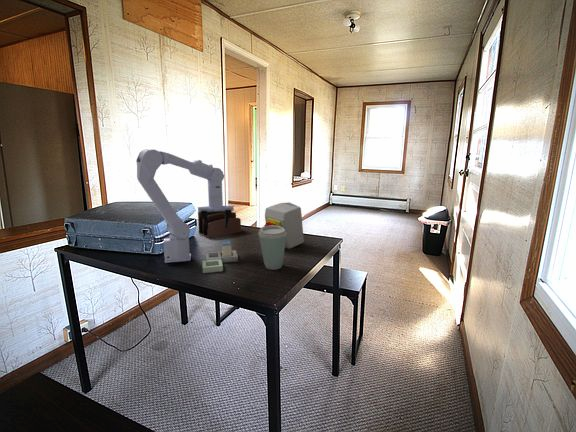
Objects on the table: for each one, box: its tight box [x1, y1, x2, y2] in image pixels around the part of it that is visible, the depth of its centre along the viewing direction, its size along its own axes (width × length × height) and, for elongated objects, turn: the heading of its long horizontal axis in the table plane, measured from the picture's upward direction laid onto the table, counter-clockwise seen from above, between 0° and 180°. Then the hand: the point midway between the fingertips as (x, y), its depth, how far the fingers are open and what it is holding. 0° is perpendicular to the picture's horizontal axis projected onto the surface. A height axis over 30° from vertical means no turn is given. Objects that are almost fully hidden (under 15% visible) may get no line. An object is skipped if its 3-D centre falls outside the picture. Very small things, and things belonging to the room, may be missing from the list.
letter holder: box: [197, 211, 242, 239], centre depth 156 cm, size 10×20×14 cm, turn 132°
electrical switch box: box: [263, 202, 305, 250], centre depth 137 cm, size 14×15×20 cm
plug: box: [221, 240, 232, 256], centre depth 119 cm, size 4×4×7 cm
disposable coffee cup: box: [257, 225, 287, 270], centre depth 111 cm, size 11×11×15 cm
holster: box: [201, 259, 224, 274], centre depth 110 cm, size 7×7×2 cm
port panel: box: [205, 249, 239, 264], centre depth 120 cm, size 12×8×2 cm, turn 106°
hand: (216, 227), depth 128 cm, fingers open, 7 cm apart
